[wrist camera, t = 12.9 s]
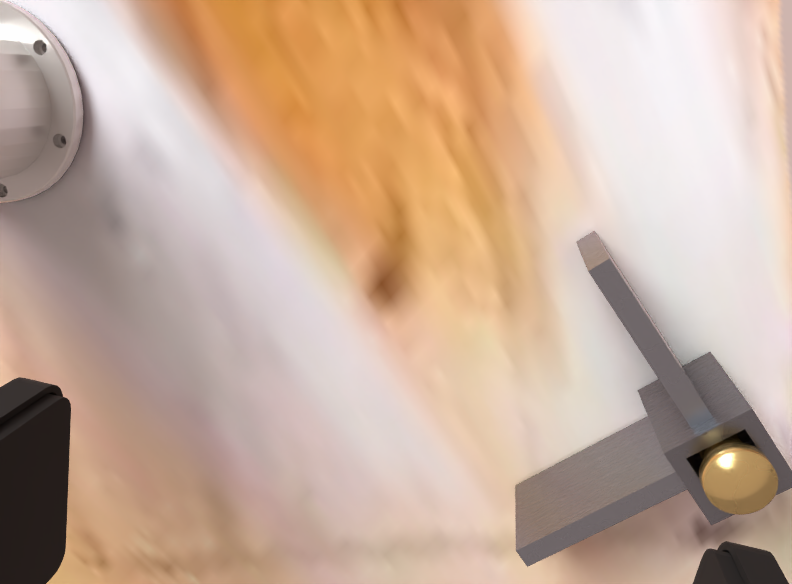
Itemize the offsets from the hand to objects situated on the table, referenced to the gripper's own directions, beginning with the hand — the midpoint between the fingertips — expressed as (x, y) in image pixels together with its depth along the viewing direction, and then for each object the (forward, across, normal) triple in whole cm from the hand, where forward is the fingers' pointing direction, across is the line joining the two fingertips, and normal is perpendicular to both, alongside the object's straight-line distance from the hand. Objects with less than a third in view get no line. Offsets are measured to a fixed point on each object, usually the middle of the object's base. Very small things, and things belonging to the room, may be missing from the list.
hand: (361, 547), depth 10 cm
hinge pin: (+34, -16, +10) cm, 39 cm away
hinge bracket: (+34, -9, +10) cm, 37 cm away
